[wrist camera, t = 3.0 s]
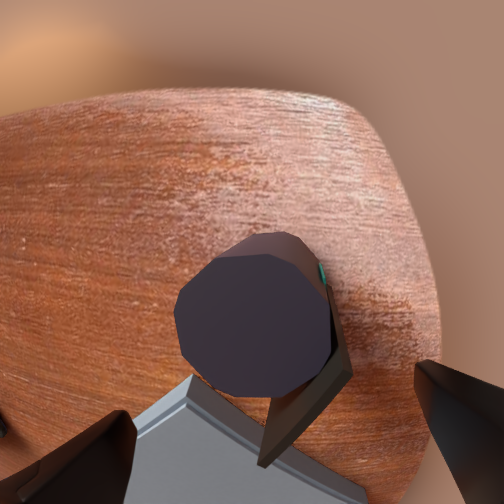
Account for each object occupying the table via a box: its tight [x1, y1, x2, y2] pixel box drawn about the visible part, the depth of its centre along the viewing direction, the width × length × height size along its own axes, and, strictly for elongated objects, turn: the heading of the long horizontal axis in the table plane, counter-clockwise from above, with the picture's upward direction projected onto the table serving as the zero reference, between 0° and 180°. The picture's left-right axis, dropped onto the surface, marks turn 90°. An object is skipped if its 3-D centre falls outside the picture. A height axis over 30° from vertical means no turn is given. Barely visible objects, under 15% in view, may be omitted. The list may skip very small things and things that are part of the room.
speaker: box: [174, 232, 354, 469], centre depth 14 cm, size 8×6×10 cm
